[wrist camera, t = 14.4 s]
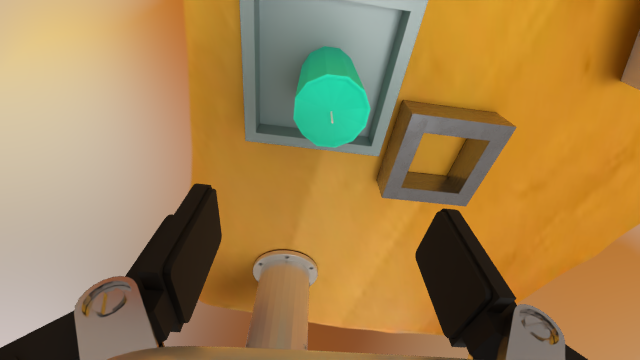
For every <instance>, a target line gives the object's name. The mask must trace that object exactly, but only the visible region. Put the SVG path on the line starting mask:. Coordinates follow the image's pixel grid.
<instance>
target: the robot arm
mask: <svg viewBox="0 0 640 360" xmlns="http://www.w3.org/2000/svg"><path fill="white" fill-rule="evenodd" d="M221 237H222V234H221V226H220V218H219V210H218V202H217V194H216V190H215V189H212V187H211V185H205V184H194V185H193V187H192V188H191V190H190V191H189V193H188V194H187V196H186V197H185V199H184V200H183V202H182V204H181V205H180V207H179V208H178V209H177V211H176V213H175V214H174V215H168V216H167V217H166V218H165V219H164V221H163V222H162V223H161V225H160V227H159V228H158V229H157V231H156V232H155V234H154V235H153V237H152V238H151V239H150V241H149V242H148V244H147V245H146V247H145V248H144V250H143V251H142V253H141V254H140V256H139V257H138V258H137V260H136V261H135V263H134V264H133V266H132V267H131V269H130V270H129V272H128V273H127V274H126V276H125V277H124V276H118V277H111V278H108V279H105V280H102V281H100V282H98V283H97V284H95V285H93V286H92V287H90V288H89V289H88V290H87V291H86V292H84V294H83V295H82V296H81V297H80V298H79V300H78V302H77V304H76V305H75V310H74V311H73V312H70V313H69V314H67V315H65V316H63V317H61V318H59V319H57V320H55V321H53V322H51V323H49V324H47V325H45V326H43V327H41V328H39V329H37V330H35V331H33V332H31V333H29V334H27V335H25V336H23V337H21V338H19V339H17V340H15V341H13V342H11V343H9V344H7V345H5V346H3V347H1V348H0V360H588V359H586V358H585V357H583V356H582V355H580V354H579V353H577V352H576V351H574V350H573V349H571V348H570V347H569V346H567V345H566V344H565V340H564V335H563V333H562V332H561V330H560V328H559V327H558V326H557V324H556V323H555V322H554V321H553V320H552V319H551V318H550V317H549V316H548V315H546V314H545V313H544V312H542V311H541V310H539V309H537V308H535V307H533V306H530V305H526V304H520V305H518V306H517V305H516V303H515V302H514V300H515V299H516V297H515V296H514V294H513V293H512V291H511V290H510V288H509V287H508V285H507V284H506V282H505V280H504V279H503V277H502V276H501V274H500V273H499V271H498V270H497V268H496V267H495V265H494V264H493V262H492V261H491V259H490V258H489V256H488V255H487V253H486V252H485V250H484V248H483V247H482V245H481V244H480V242H479V241H478V239H477V238H476V236H475V235H474V233H473V232H472V230H471V229H470V227H469V226H468V224H467V223H466V221H465V220H464V218H463V217H462V215H461V213H460V212H459V211H458V210H454V209H442V210H441V211H439V212H437V213H436V215H435V217H434V219H433V221H432V223H431V224H430V226H429V228H428V230H427V232H426V234H425V236H424V238H423V239H422V241H421V243H420V245H419V247H418V249H417V251H416V261H417V263H418V266H419V269H420V272H421V274H422V277H423V280H424V282H425V285H426V288H427V290H428V293H429V296H430V298H431V301H432V304H433V306H434V309H435V312H436V314H437V317H438V320H439V322H440V325H441V328H442V330H443V333H444V335H445V336H446V337H447V338H449V341H450V343H451V346H452V347H467V349H468V352H469V355H468V359H460V358H442V357H424V356H406V355H405V356H404V355H388V354H367V353H348V352H327V351H307V337H308V336H307V335H308V307H309V286H311V285H312V284H313V283H314V282H315V281H316V279H317V274H318V270H317V266H316V264H315V263H314V261H313V260H312V259H310V258H309V257H308V256H306V255H304V254H301V253H299V252H295V251H288V250H278V251H272V252H269V253H266V254H264V255H262V256H260V257H259V258H258V259H257V260H256V261H255V264H254V267H253V275H254V277H255V279H256V280H257V281H258V282H259V283H258V288H257V293H256V298H255V303H254V308H253V313H252V318H251V323H250V328H249V332H248V337H247V342H246V347H245V348H240V347H204V346H202V347H201V346H177V347H165V345H164V343H163V342H164V341H165V340H167V338H168V336H169V333H170V332H180V331H181V329H182V326H183V324H184V323H188V322H189V320H190V318H191V316H192V314H193V311H194V309H195V306H196V303H197V301H198V298H199V296H200V293H201V291H202V288H203V286H204V283H205V281H206V278H207V276H208V273H209V271H210V268H211V265H212V263H213V260H214V258H215V255H216V253H217V250H218V248H219V245H220V242H221Z"/></svg>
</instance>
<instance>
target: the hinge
mask: <svg viewBox="0 0 640 360" xmlns="http://www.w3.org/2000/svg"><path fill="white" fill-rule="evenodd" d="M621 81H622V82H624V83H626V84H628V85H630V86H632V87H634V88H637V89H639V90H640V30H639V33H638V35H637V38H636V41H635V43H634V46H633V49H632V51H631V54H630V57H629V59H628V62H627V65H626V67H625V70H624V73H623V75H622V78H621Z"/></svg>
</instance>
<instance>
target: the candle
mask: <svg viewBox="0 0 640 360" xmlns="http://www.w3.org/2000/svg"><path fill="white" fill-rule="evenodd" d="M370 109H371V108H370V105H369V102H368V99H367V95H366V92H365V89H364V87H363V85H362V83H361V80H360V78H359V76H358V73H357V71H356V69H355V67H354V64H353V62H352V60H351V58H350V57H349V56H348V55H347V54H345V53H344V52H343V51H342V50H341V49H340V48H334V47H327V46H324V47H322V48H319V49H317V50H315V51H313V52H311V53H310V54H309V56H308V57H307V59H306V60H305V62H304V63H303V65H302V68H301V73H300V77H299V82H298V86H297V91H296V96H295V104H294V116H293V119H294V121H295V123H296V125H297V126H298V128H299V130H300V132H301V133H302V135H304V136H305V137H306V138H307V139H309V140H310V141H311V142H312V143H314V144H315V145H316V146H321V147H334V148H336V147H338V146H341V145H344V144H346V143H349V142H352V141H353V140H354V139H355V138H356V137H357V136H358V135H359V133H360V132H361V131H362V130H363V129H364V128H365V127H366V123H367V120H368V116H369V113H370Z"/></svg>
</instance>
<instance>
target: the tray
mask: <svg viewBox="0 0 640 360" xmlns="http://www.w3.org/2000/svg"><path fill="white" fill-rule="evenodd" d="M427 3H428V0H240V22H241V45H242V69H243V92H244V115H245V139H246V141H251V142H260V143H268V144H277V145H286V146H294V147H303V148H311V149H320V150H329V151H337V152H346V153H354V154H363V155H372V156H379V154H380V151H381V148H382V144H383V141H384V138H385V135H386V132H387V129H388V126H389V122H390V119H391V116H392V113H393V110H394V107H395V103H396V100H397V97H398V94H399V91H400V88H401V85H402V81H403V78H404V75H405V72H406V69H407V66H408V63H409V59H410V56H411V53H412V50H413V47H414V44H415V41H416V37H417V34H418V31H419V28H420V25H421V22H422V18H423V15H424V12H425V9H426V6H427ZM324 46H327V47H334V48H340V49H341V50H342V51H343V52H344V53H345V54H347V55H348V56H349V57H350V58H351V60H352V62H353V64H354V67H355V69H356V71H357V73H358V76H359V78H360V80H361V83H362V85H363V87H364V89H365V92H366V95H367V99H368V102H369V105H370V108H371V109H370V113H369V116H368V120H367V123H366V127H365V128H364V129H363V130H362V131H361V132H360V133H359V135H358V136H357V137H356V138H355V139H354V140H353V141H352V142H349V143H346V144H344V145H341V146H338V147H336V148H334V147H321V146H316V145H315V144H314V143H312V142H311V141H310V140H309V139H307V138H306V137H305V136H304V135H302V133H301V132H300V130H299V128H298V126H297V125H296V123H295V121H294V119H293V116H294V104H295V96H296V91H297V86H298V82H299V77H300V73H301V68H302V65H303V63H304V62H305V60H306V59H307V57H308V56H309V54H310V53H311V52H313V51H315V50H317V49H319V48H322V47H324Z"/></svg>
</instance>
